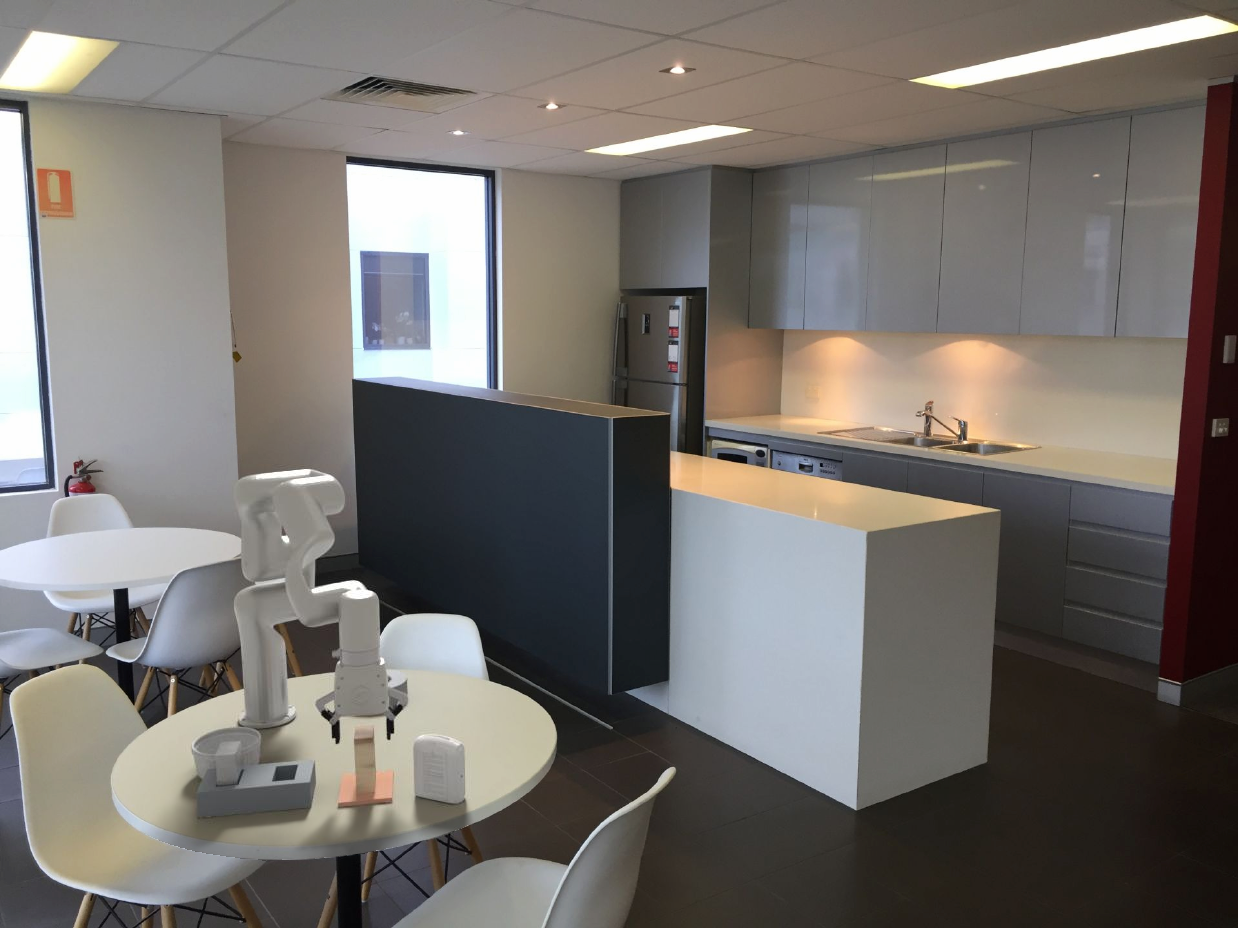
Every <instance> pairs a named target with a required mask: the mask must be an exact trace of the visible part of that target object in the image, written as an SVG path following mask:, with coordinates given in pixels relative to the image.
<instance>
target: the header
mask: <svg viewBox="0 0 1238 928" xmlns="http://www.w3.org/2000/svg"><path fill="white" fill-rule="evenodd" d="M242 771H243V774H242V777H241V780H240V782H239V785H231V786H220V787H217V774H216V768H212V769H207V771H206V773H205V775H204V778H203V780H202V779H201V782H200V785H199V787H198V789H197V791H196V802H197V804H196V805H197V806H196V807H197V818H198V817H206V818H210V817H209V816H216V817H223V816H222V815H226V816H232V815H231V814H236V815H245V814H255V813H264V812H273V811H285V810H295V809H296V810H297V809H304V808H312V805H313V799H314V794H315V789H316V784H317V777H316V773H317V772H316V759H314V758H312V759H302V760H292V761H283V762H269V763H259V764H256V765H245V766H242Z"/></svg>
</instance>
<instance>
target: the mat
mask: <svg viewBox="0 0 1238 928" xmlns="http://www.w3.org/2000/svg"><path fill="white" fill-rule="evenodd" d="M394 775H395V774H394V769H389V770H378V771H376V786H375V792H369V793H359V794H356V775H355V773H354V772H353V773H345V774H342V775H341V780H340V786H339V794H338V799H337V800H338V801H337V807H339V808H340V807H349V806H350V807H351V806H352V807H353V806H361V805H369V804H379V803H391V802H393V795H394V794H393V793H394Z"/></svg>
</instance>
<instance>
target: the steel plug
mask: <svg viewBox="0 0 1238 928" xmlns="http://www.w3.org/2000/svg"><path fill="white" fill-rule="evenodd" d="M215 760H216V774H217V787H220V786H231V785H239V782H240V780H241V777H242V774H243V771H242V756H241V741H233V742H221V744H220V746H219V749H218V751H217V753H216V755H215Z"/></svg>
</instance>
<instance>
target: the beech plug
mask: <svg viewBox="0 0 1238 928" xmlns="http://www.w3.org/2000/svg"><path fill="white" fill-rule="evenodd" d="M353 746H354V747H353V751H354V770H355V771H354V772H355V775H356V794H359V793H369V792H375V786H376V747H375V746H376V743H375V725H364V726H355V727H354V735H353Z"/></svg>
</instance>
